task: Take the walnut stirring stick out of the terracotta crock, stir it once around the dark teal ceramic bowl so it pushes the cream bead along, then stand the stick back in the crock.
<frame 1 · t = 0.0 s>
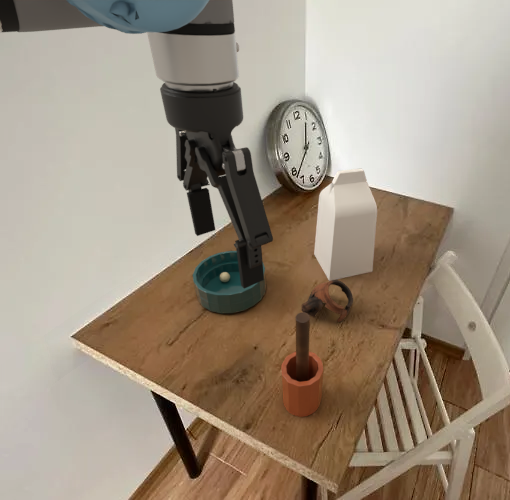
hand: (227, 255, 47), 29 cm above the table, tool pointing down, fingers open, 13 cm apart
bowl: (232, 290, 83), on the table
milk: (342, 263, 94), on the table
crock: (302, 398, 62), on the table
bead: (225, 280, 84), point 1 cm above the table, touching bowl
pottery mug: (324, 312, 79), on the table
stirring stick: (302, 396, 62), point 1 cm above the table, touching crock
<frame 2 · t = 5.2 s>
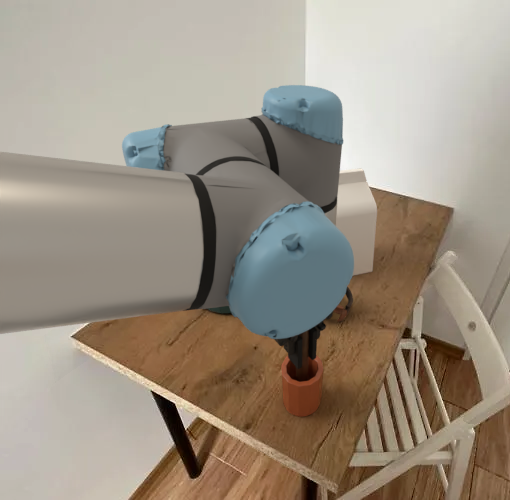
hand: (302, 357, 55), 12 cm above the table, tool pointing down, fingers closed on stirring stick, 2 cm apart
stirring stick: (301, 396, 62), point 1 cm above the table, touching gripper
everything else where it was.
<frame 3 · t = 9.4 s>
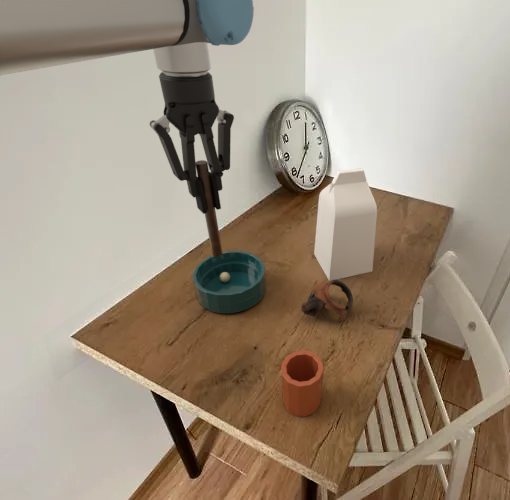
hand: (209, 208, 67), 23 cm above the table, tool pointing down, fingers closed on stirring stick, 2 cm apart
stirring stick: (217, 253, 74), point 12 cm above the table, touching gripper
everything else where it was.
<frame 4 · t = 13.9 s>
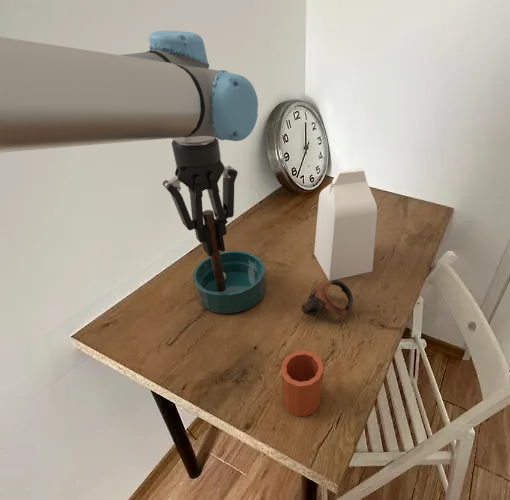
hand: (214, 250, 74), 13 cm above the table, tool pointing down, fingers closed on stirring stick, 2 cm apart
bead: (224, 279, 84), point 1 cm above the table, tilted 47°, touching bowl
stirring stick: (221, 289, 80), point 2 cm above the table, touching gripper
everything else where it was.
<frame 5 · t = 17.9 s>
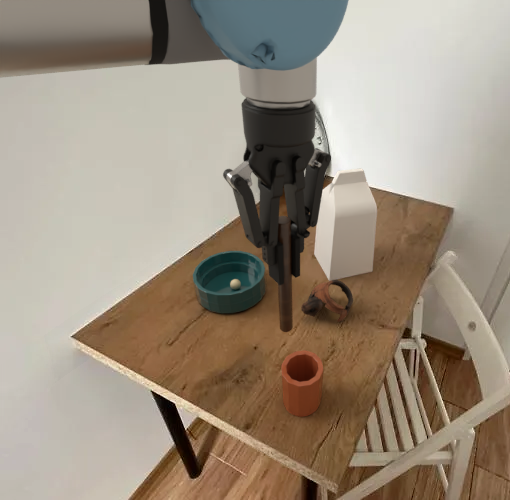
hand: (284, 275, 50), 25 cm above the table, tool pointing down, fingers closed on stirring stick, 2 cm apart
bead: (235, 279, 81), point 3 cm above the table, tilted 168°, touching bowl
stirring stick: (286, 327, 56), point 14 cm above the table, touching gripper
everything else where it was.
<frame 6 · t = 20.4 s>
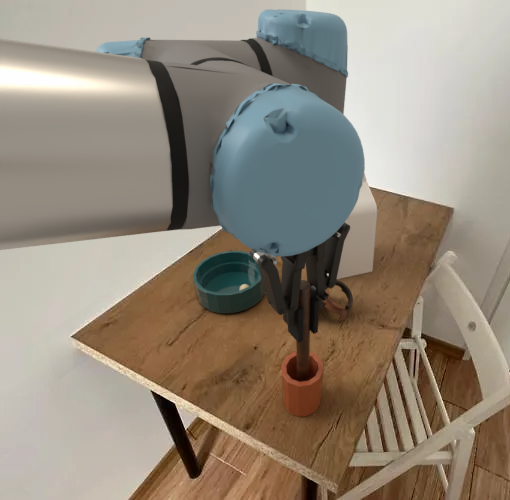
hand: (303, 331, 52), 18 cm above the table, tool pointing down, fingers closed on stirring stick, 2 cm apart
bead: (248, 292, 81), point 1 cm above the table, tilted 43°, touching bowl
stirring stick: (302, 375, 58), point 7 cm above the table, touching gripper
everything else where it was.
when the fingers open (11 cm above the table, at t = 22.2 s): stirring stick stays where it is, resting on crock.
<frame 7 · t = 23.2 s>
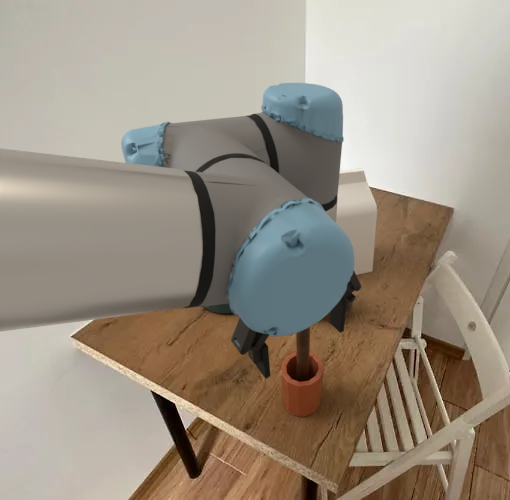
hand: (302, 347, 54), 14 cm above the table, tool pointing down, fingers open, 13 cm apart
bead: (248, 293, 81), point 1 cm above the table, tilted 25°, touching bowl
stirring stick: (302, 396, 62), point 1 cm above the table, touching crock
everything else where it was.
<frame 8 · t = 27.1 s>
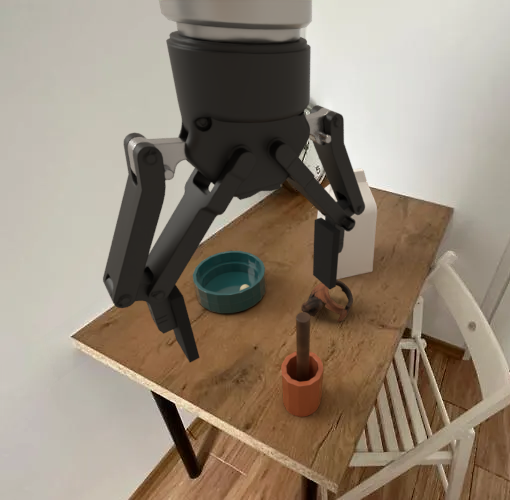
hand: (264, 311, 31), 35 cm above the table, tool pointing down, fingers open, 13 cm apart
bead: (248, 293, 81), point 1 cm above the table, tilted 36°, touching bowl
everything else where it was.
at the end: bead moved 7.5 cm from its start; bead inside the target area in the bowl (4.3 cm from its centre), point 0.8 cm above the bowl's base; stirring stick 0.1 cm off-centre in the crock, point 0.6 cm above the crock's base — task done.
